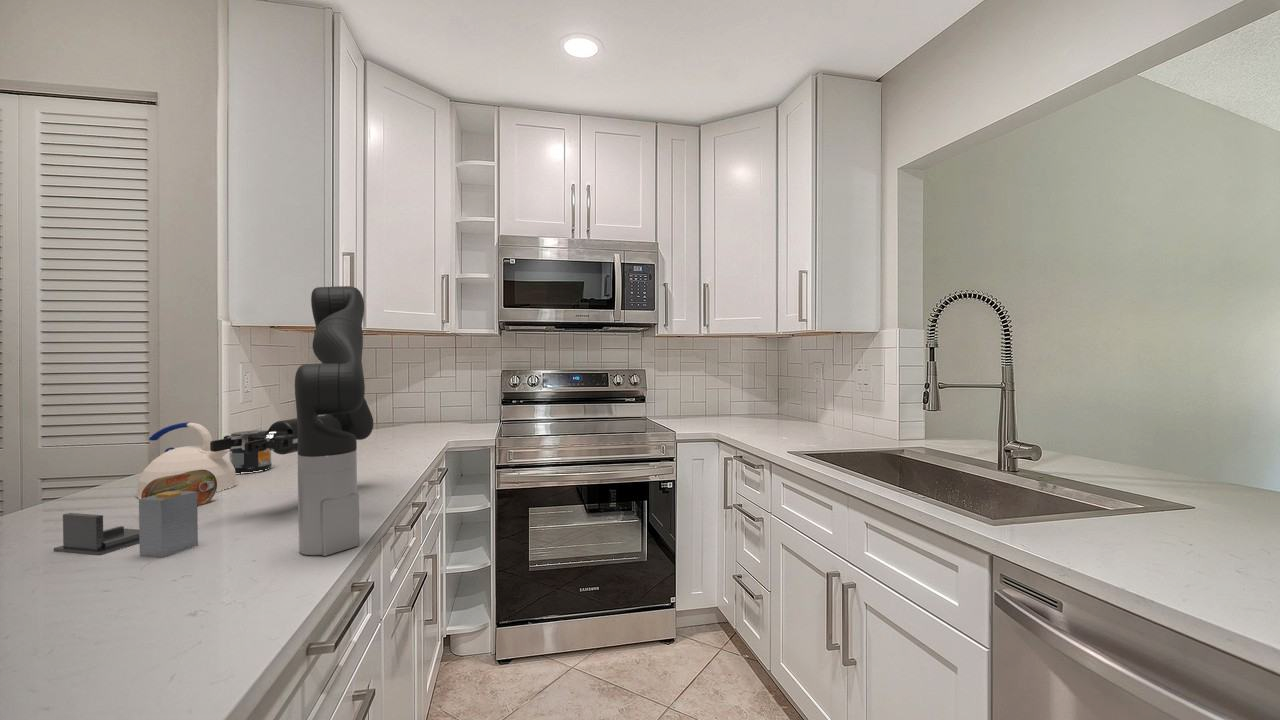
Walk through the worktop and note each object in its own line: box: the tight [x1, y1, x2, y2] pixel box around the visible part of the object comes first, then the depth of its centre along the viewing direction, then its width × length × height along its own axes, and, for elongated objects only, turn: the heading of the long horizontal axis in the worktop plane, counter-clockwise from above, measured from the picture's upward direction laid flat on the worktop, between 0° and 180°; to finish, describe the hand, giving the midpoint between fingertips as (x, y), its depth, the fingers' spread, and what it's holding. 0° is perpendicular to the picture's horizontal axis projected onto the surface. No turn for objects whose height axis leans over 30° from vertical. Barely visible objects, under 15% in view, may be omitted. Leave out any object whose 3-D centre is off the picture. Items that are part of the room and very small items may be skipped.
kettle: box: [136, 421, 238, 497], centre depth 139 cm, size 20×21×18 cm
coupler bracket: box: [53, 512, 140, 556], centre depth 99 cm, size 11×11×6 cm
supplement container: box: [229, 429, 273, 473], centre depth 162 cm, size 10×10×12 cm
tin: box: [141, 470, 217, 506], centre depth 121 cm, size 15×3×8 cm, turn 168°
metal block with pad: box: [138, 491, 199, 559], centre depth 94 cm, size 6×5×10 cm
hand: (228, 447), depth 105 cm, fingers open, 8 cm apart
